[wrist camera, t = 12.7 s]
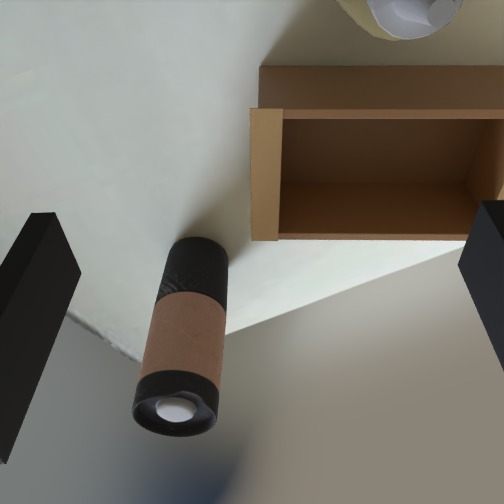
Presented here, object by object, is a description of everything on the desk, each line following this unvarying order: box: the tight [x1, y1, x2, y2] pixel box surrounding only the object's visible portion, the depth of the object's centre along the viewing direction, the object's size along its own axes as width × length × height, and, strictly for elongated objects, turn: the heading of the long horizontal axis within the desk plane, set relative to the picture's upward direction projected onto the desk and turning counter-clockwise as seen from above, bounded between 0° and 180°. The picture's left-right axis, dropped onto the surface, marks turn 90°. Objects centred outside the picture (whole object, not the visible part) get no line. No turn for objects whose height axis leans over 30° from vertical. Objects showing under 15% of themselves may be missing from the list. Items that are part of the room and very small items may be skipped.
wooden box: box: [250, 66, 504, 241], centre depth 40 cm, size 13×23×8 cm, turn 91°
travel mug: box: [132, 237, 228, 437], centre depth 47 cm, size 8×8×20 cm
